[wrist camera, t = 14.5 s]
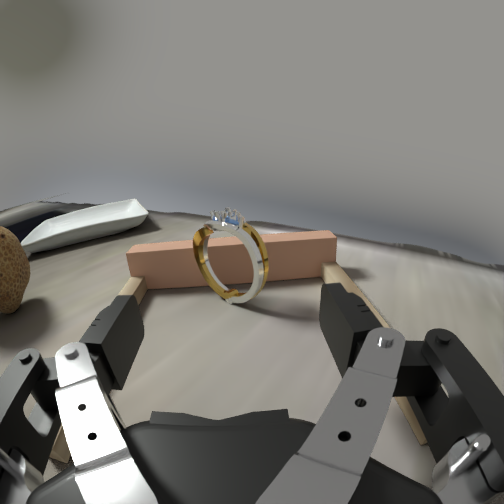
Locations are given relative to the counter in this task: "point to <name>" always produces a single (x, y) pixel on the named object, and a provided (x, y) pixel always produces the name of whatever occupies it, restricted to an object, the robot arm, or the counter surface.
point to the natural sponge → (12, 271)
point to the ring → (252, 243)
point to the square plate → (85, 225)
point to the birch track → (329, 275)
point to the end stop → (232, 259)
